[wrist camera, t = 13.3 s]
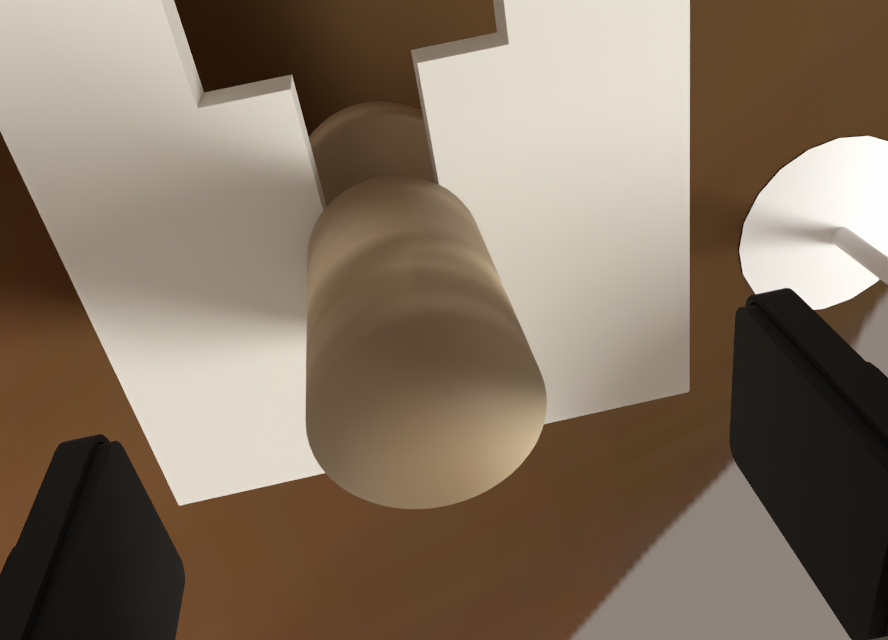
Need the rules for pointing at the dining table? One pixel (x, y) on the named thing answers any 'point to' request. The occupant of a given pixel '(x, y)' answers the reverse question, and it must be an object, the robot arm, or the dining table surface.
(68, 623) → the robot arm
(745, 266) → the wineglass
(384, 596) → the dining table surface
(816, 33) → the dining table surface
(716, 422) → the dining table surface
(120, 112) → the keyhole shelf
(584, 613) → the dining table surface
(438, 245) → the peg
